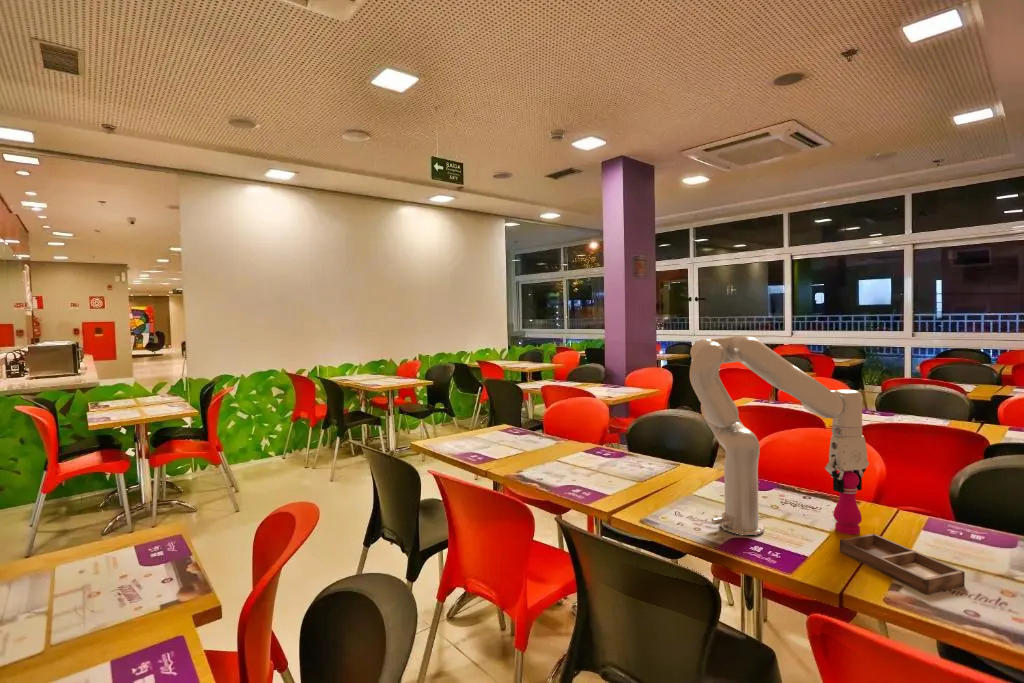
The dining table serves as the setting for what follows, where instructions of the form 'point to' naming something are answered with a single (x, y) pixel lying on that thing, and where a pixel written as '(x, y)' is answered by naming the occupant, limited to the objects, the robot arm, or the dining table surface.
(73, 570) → the dining table surface
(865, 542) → the caddy
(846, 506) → the pepper mill
